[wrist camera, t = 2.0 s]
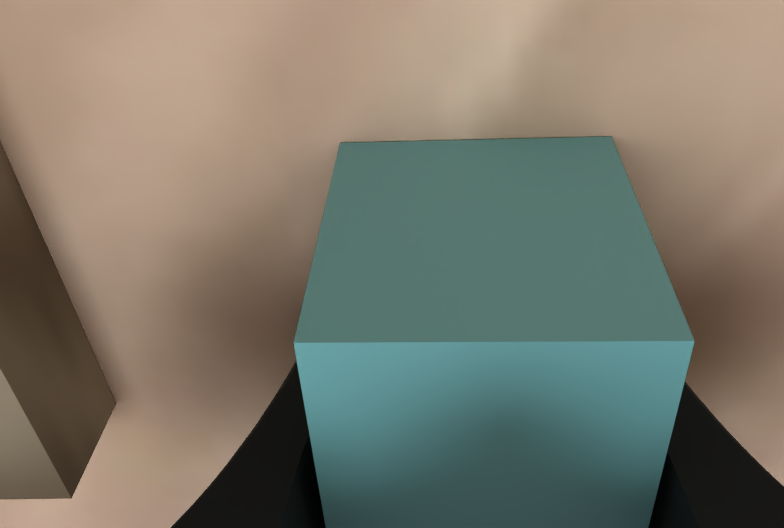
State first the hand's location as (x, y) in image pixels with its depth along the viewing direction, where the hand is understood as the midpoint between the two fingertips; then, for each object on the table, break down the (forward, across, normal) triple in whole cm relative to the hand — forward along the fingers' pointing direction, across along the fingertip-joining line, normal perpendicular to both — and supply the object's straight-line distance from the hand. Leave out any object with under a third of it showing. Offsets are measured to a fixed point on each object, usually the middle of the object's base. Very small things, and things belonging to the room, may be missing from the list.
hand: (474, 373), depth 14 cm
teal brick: (+1, 0, 0) cm, 1 cm away
